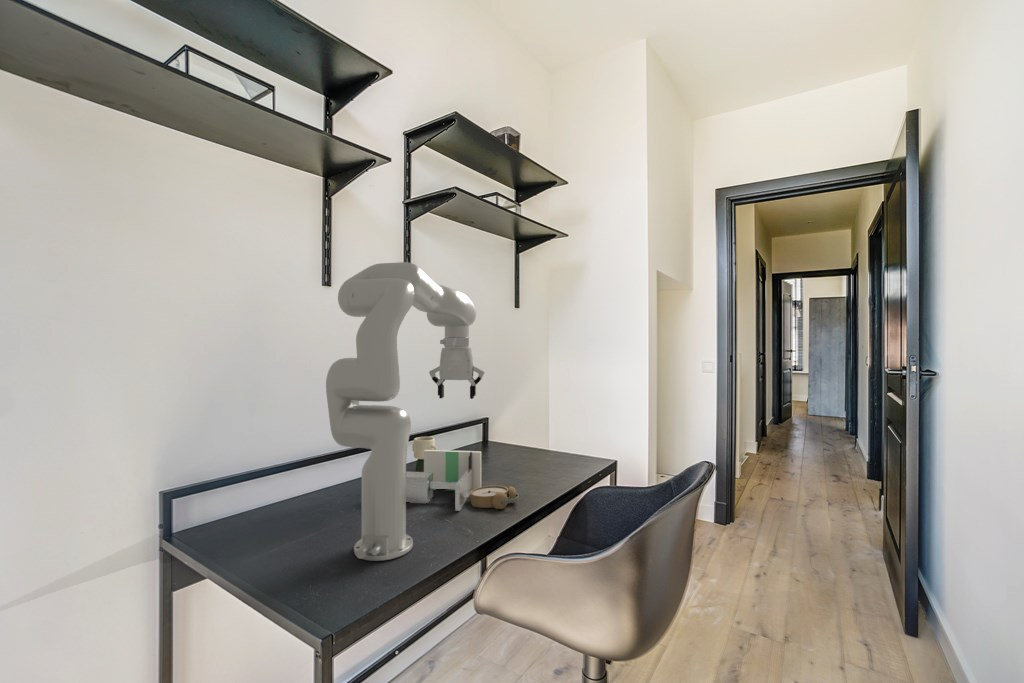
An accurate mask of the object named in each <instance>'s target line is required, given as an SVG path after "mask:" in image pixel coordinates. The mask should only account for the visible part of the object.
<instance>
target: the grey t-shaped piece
mask: <svg viewBox="0 0 1024 683" xmlns="http://www.w3.org/2000/svg"><path fill="white" fill-rule="evenodd" d="M429 488H433V490H436V489H455V490H454V496H455V497H454V498H455V500H454V501H455V502H454V505H455V506H454V508H455V509H454V511H455V512H460V511H461V509H462V508H463V507H464V505H465V503H466V501H467V500H468V499H467V498H466V497H469V496H470V492H471V491H472V456H469V469H467V471H466V472H465V473H464V474H463V476H462V477H461V478H460V479H459V481H458V482H439V481H429Z"/></svg>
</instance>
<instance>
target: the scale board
mask: <svg viewBox="0 0 1024 683" xmlns="http://www.w3.org/2000/svg"><path fill="white" fill-rule="evenodd" d="M469 456H472V490H473V489H476V488H479V487H482V451H478V450H476V451H474V450H443V449H440V450H439V449H437V450H424V472H433V481H439V482H458V481H459V479H460V478H461V477H462V476H463V474H464V473H465V472H466V471H467V469H469ZM448 491H455V489H451V490H450V489H449V490H448Z"/></svg>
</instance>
